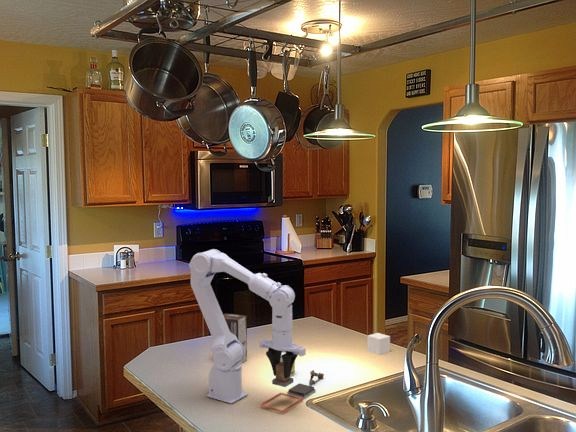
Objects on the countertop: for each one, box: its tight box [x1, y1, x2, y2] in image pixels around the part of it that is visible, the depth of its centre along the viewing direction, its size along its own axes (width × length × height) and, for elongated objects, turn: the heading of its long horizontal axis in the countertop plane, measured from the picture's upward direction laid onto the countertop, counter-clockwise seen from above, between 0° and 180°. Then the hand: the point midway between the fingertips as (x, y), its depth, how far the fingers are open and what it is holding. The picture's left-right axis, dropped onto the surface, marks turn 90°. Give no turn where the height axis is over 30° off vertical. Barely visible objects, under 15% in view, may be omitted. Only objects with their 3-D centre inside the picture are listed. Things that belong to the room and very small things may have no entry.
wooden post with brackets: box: [308, 369, 325, 386], centre depth 173 cm, size 2×8×4 cm, turn 150°
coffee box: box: [223, 313, 248, 364], centre depth 192 cm, size 9×6×16 cm
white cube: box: [366, 332, 391, 356], centre depth 204 cm, size 6×6×6 cm
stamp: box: [271, 362, 294, 388], centre depth 156 cm, size 4×4×6 cm
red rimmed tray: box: [259, 392, 304, 415], centre depth 156 cm, size 8×11×1 cm
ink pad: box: [286, 383, 316, 400], centre depth 164 cm, size 6×7×2 cm
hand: (281, 375), depth 155 cm, fingers closed on stamp, 3 cm apart
